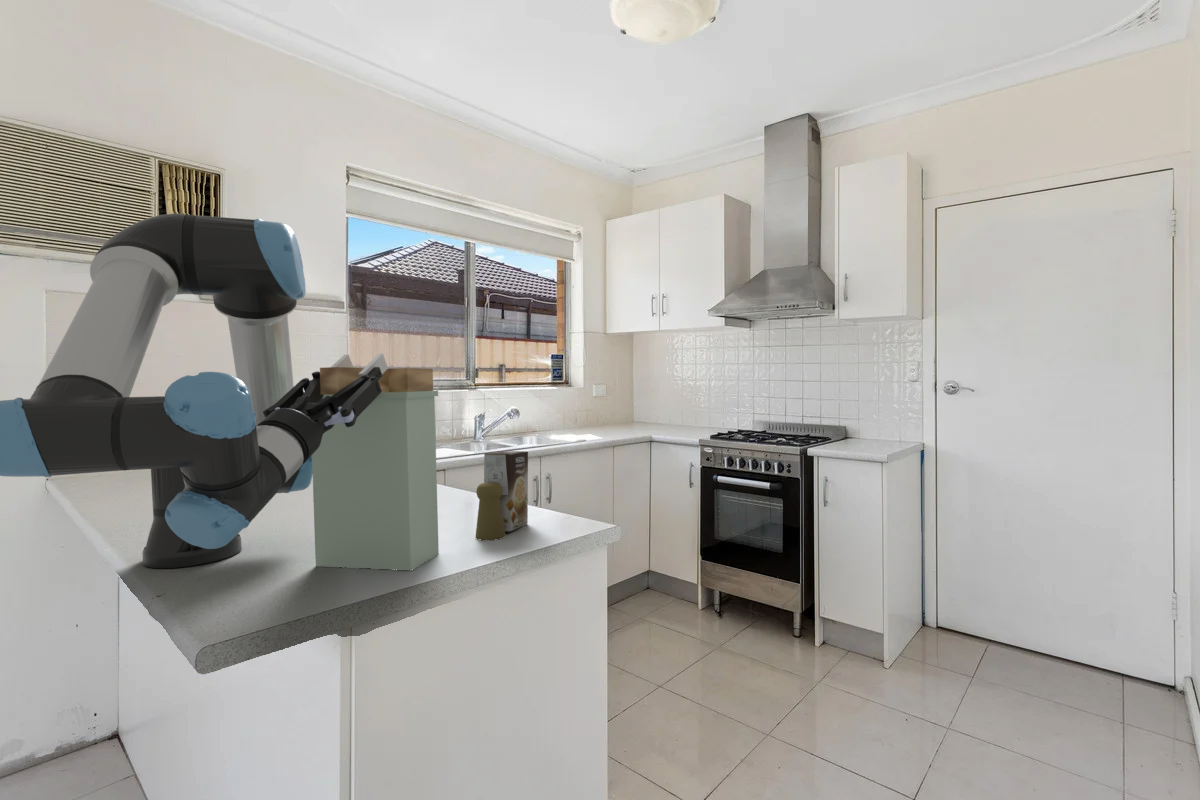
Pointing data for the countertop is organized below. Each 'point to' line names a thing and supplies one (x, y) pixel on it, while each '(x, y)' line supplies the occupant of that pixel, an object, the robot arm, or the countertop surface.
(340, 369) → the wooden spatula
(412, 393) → the sage green shelf box
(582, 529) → the countertop surface
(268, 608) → the countertop surface
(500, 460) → the coffee box
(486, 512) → the cork
